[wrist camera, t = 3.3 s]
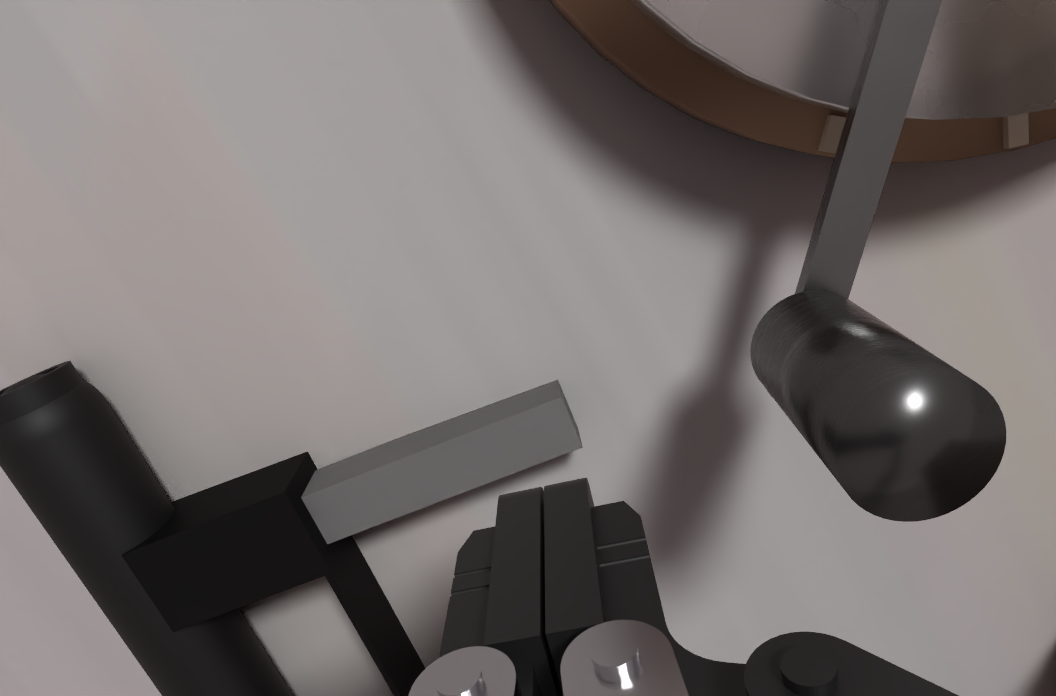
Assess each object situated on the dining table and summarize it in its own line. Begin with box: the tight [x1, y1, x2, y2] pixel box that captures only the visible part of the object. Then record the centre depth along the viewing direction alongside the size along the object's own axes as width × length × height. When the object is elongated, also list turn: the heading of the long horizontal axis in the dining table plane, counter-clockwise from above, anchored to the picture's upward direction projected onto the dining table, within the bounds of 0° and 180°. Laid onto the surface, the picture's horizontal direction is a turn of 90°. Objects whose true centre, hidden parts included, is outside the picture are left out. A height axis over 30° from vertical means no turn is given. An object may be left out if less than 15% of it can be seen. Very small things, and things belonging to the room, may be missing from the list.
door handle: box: [0, 361, 582, 696], centre depth 22 cm, size 3×20×16 cm
